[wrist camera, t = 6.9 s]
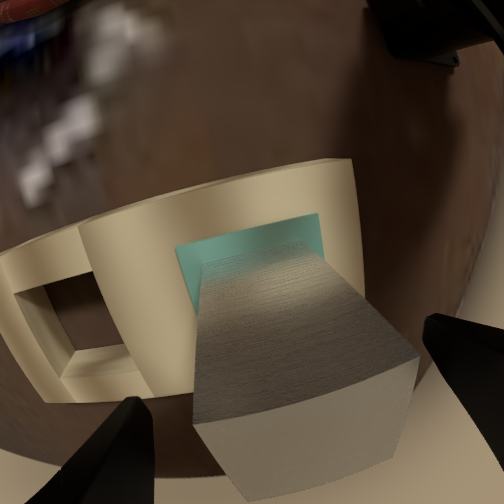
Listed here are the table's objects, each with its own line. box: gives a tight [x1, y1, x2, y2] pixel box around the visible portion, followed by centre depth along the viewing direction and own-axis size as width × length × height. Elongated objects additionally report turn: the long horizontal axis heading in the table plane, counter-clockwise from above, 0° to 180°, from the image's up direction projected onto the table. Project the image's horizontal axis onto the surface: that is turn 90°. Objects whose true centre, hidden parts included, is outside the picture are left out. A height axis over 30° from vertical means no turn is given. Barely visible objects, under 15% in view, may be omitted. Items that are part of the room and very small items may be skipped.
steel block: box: [193, 239, 421, 502], centre depth 9 cm, size 4×4×8 cm
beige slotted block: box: [0, 158, 365, 403], centre depth 14 cm, size 21×10×3 cm, turn 102°
